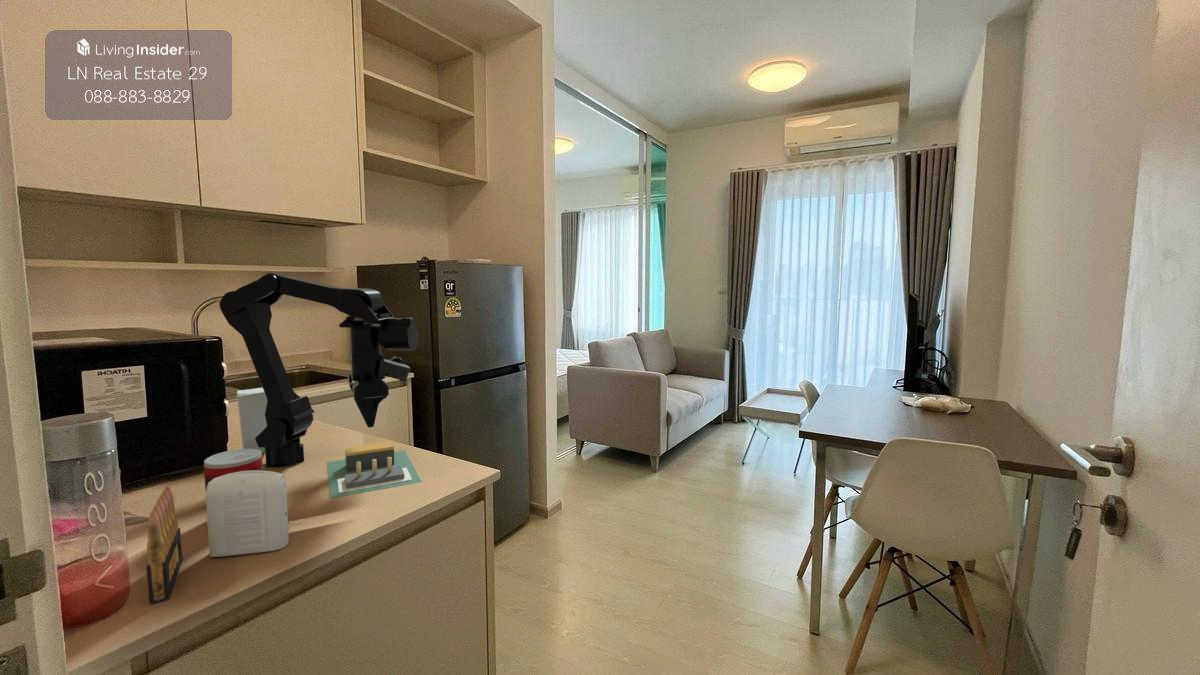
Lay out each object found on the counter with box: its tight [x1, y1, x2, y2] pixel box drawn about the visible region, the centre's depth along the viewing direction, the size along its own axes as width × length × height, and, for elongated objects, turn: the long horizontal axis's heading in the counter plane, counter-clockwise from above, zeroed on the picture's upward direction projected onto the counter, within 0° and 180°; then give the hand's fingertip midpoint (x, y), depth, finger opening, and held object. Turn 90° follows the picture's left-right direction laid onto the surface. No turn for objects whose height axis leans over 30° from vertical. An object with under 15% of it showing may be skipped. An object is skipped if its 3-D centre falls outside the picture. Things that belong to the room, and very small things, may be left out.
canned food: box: [203, 448, 264, 491], centre depth 83 cm, size 8×8×11 cm
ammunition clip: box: [146, 484, 184, 605], centre depth 66 cm, size 11×2×12 cm, turn 33°
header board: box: [326, 449, 422, 499], centre depth 101 cm, size 16×20×6 cm
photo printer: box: [205, 470, 290, 558], centre depth 74 cm, size 10×4×12 cm, turn 107°
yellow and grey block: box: [344, 440, 395, 472], centre depth 104 cm, size 9×4×4 cm, turn 121°
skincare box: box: [236, 387, 267, 454], centre depth 115 cm, size 8×6×15 cm
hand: (368, 421), depth 103 cm, fingers open, 9 cm apart
